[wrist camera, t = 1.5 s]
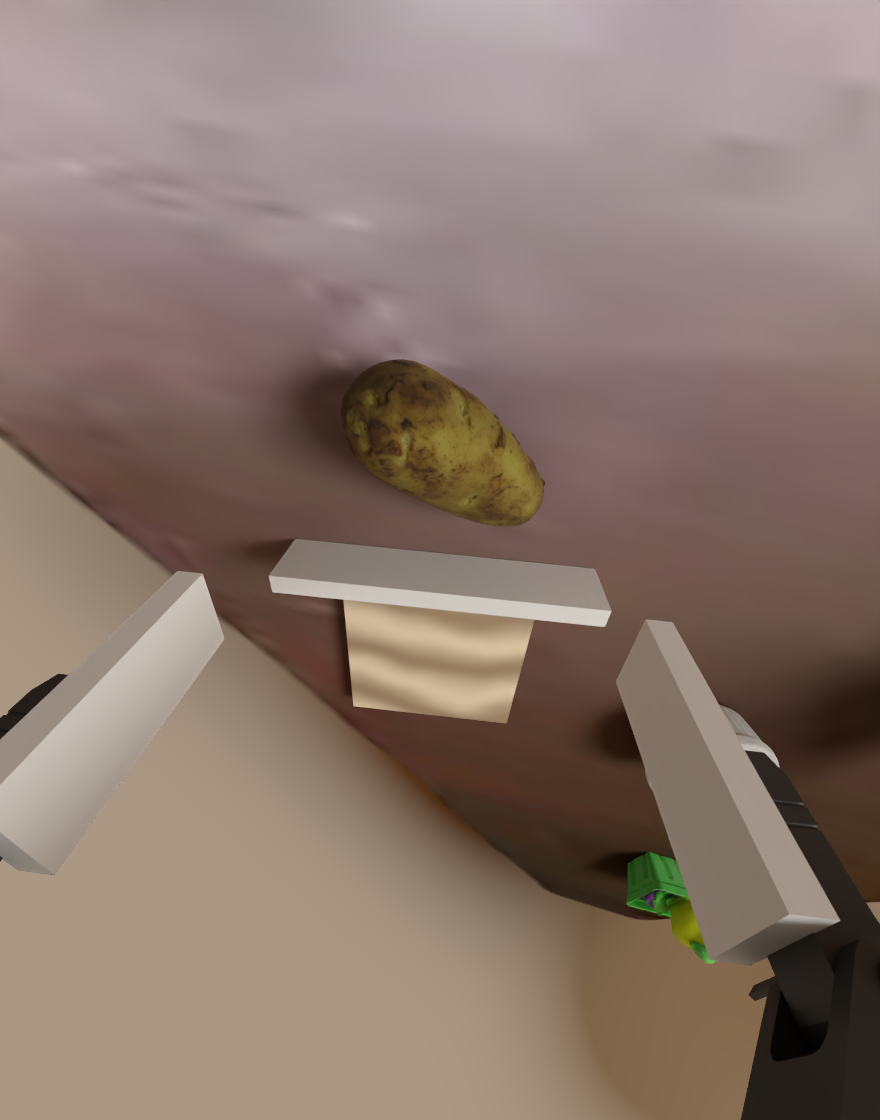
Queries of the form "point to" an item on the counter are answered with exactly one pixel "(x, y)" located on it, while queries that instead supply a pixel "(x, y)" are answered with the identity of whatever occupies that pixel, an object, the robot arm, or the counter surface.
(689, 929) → the fruit basket
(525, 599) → the divider wall
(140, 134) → the counter surface
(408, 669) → the cutting board
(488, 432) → the potato
